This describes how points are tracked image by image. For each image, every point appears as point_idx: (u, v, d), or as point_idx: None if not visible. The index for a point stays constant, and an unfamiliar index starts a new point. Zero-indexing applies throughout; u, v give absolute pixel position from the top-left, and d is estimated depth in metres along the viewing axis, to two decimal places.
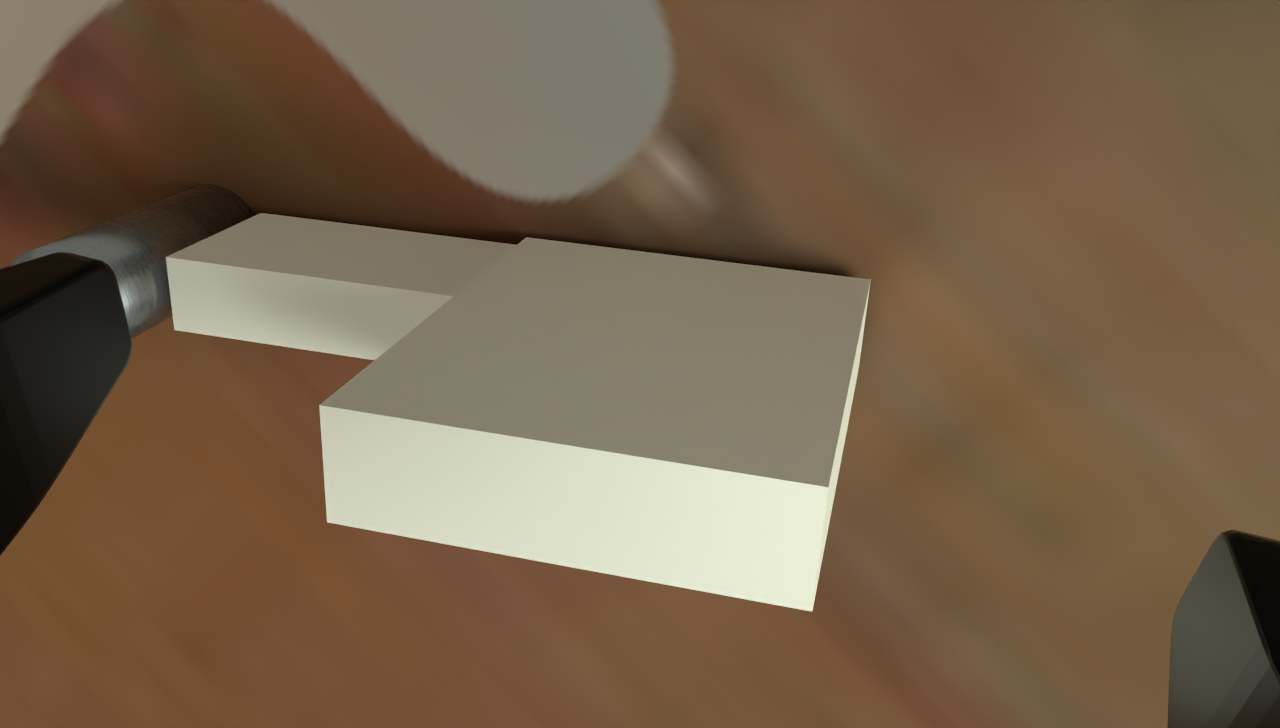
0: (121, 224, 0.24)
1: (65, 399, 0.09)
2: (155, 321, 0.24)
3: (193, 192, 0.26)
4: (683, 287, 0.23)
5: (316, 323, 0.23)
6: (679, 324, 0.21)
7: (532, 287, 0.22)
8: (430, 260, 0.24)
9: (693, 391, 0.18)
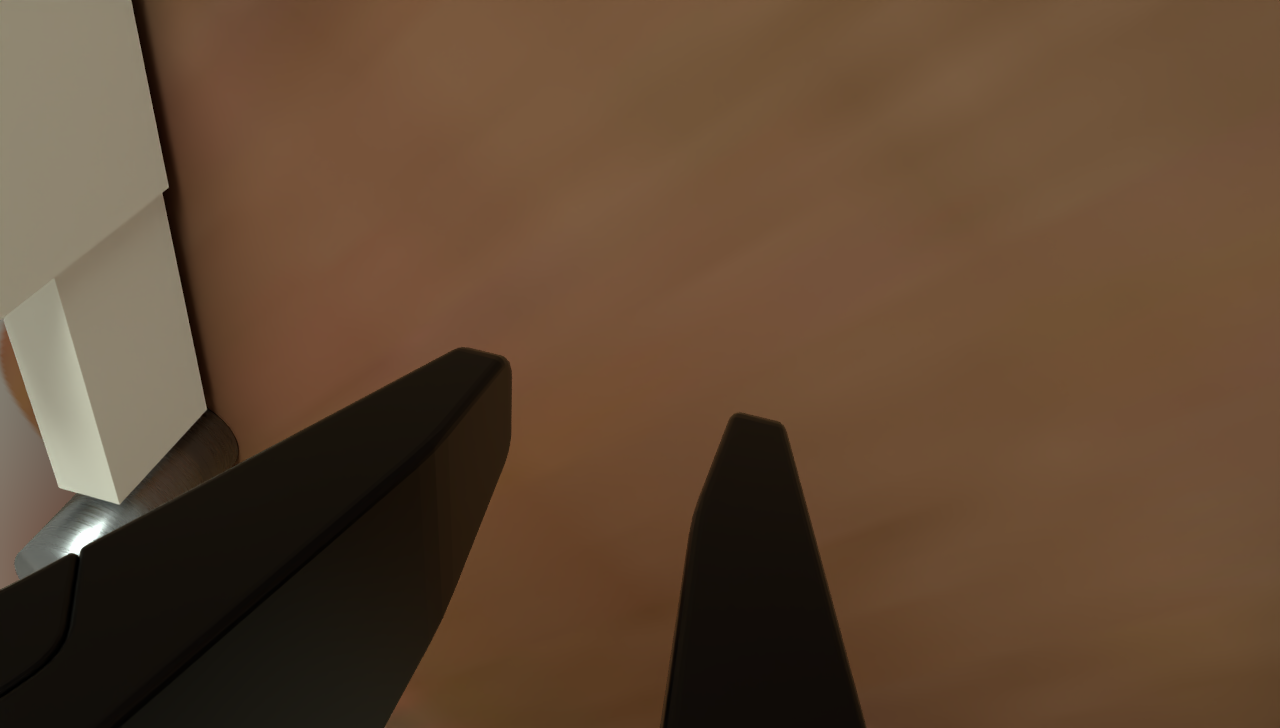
0: None
1: (470, 505, 0.09)
2: (127, 516, 0.27)
3: None
4: None
5: (62, 388, 0.24)
6: None
7: None
8: None
9: None
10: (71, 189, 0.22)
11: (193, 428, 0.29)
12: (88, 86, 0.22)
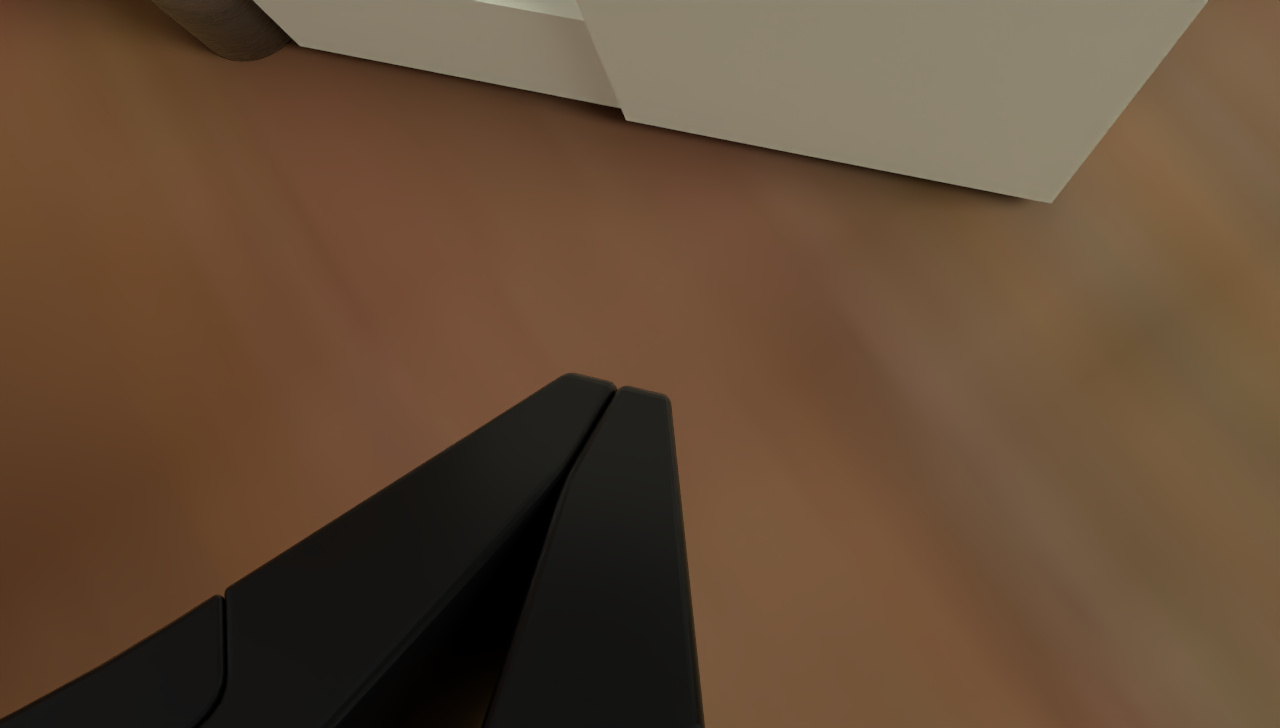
0: None
1: None
2: None
3: None
4: None
5: None
6: None
7: None
8: None
9: None
10: (688, 74, 0.18)
11: (274, 21, 0.21)
12: (794, 119, 0.18)
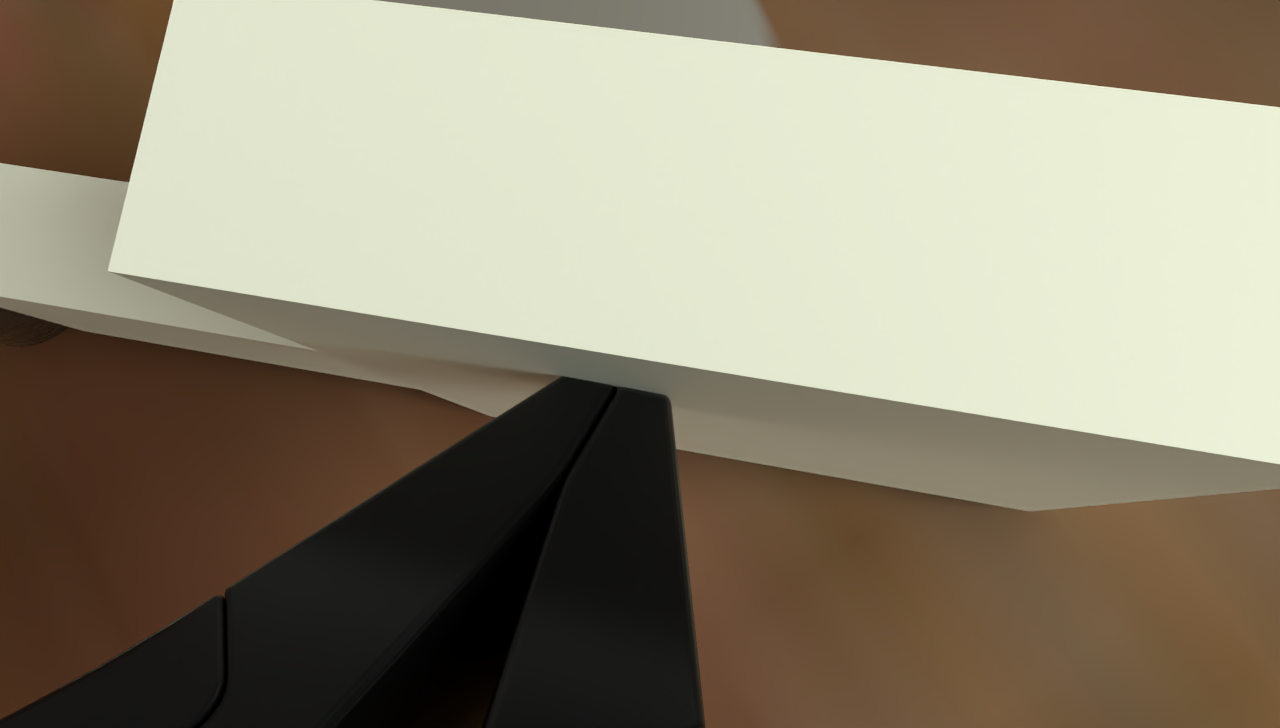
0: None
1: None
2: None
3: None
4: None
5: None
6: None
7: None
8: None
9: None
10: None
11: None
12: (691, 444, 0.14)
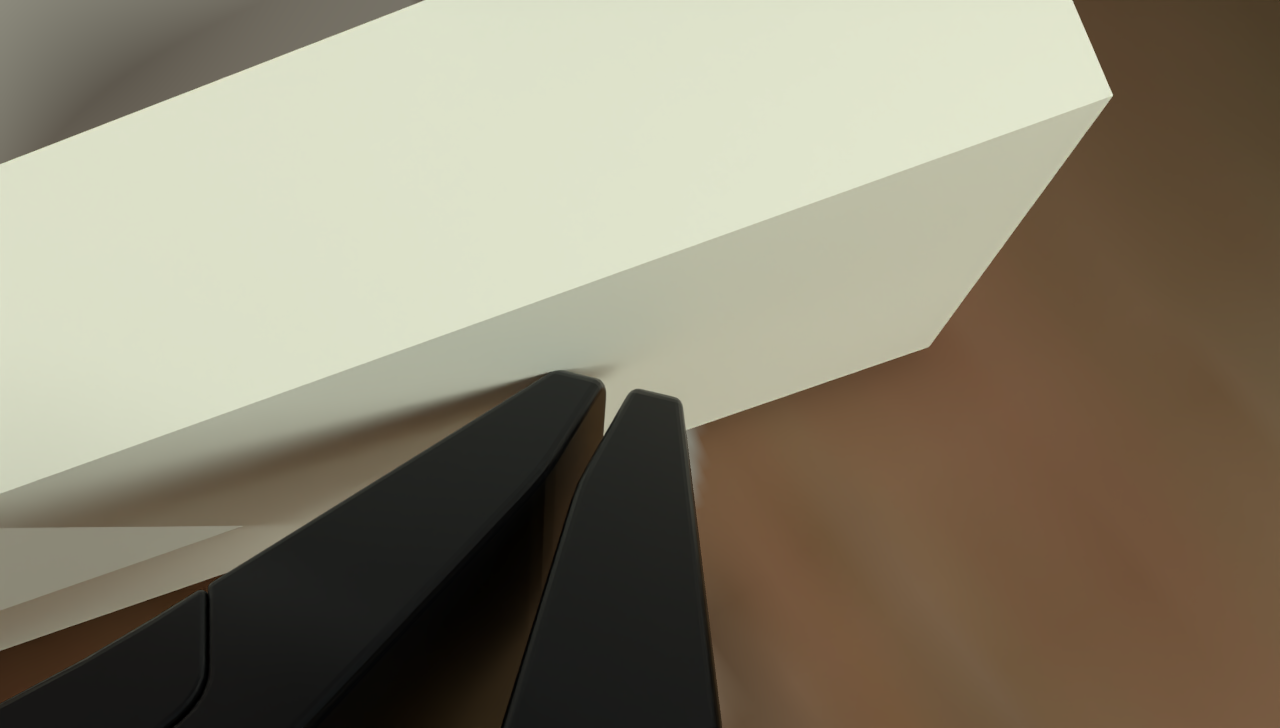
0: None
1: None
2: None
3: None
4: None
5: (22, 545, 0.13)
6: None
7: None
8: None
9: None
10: None
11: None
12: None
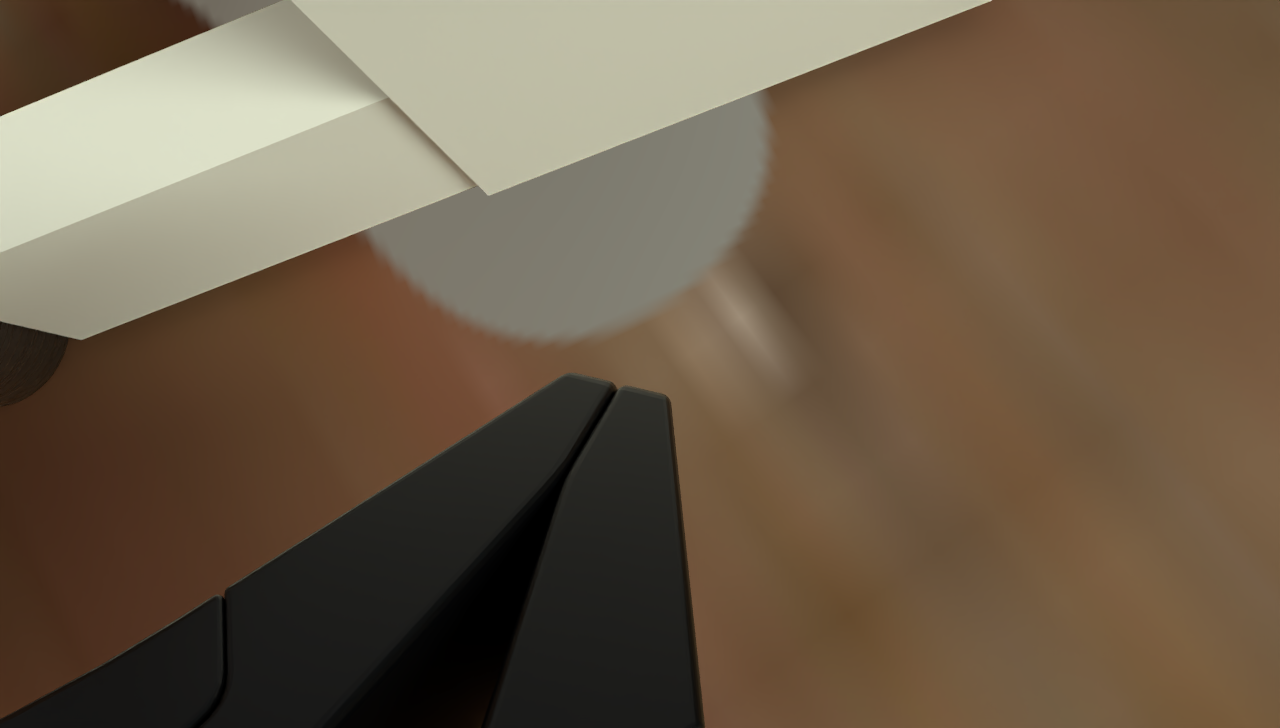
0: None
1: None
2: None
3: None
4: None
5: (129, 147, 0.13)
6: None
7: None
8: None
9: None
10: (536, 89, 0.13)
11: (14, 373, 0.17)
12: (678, 71, 0.14)
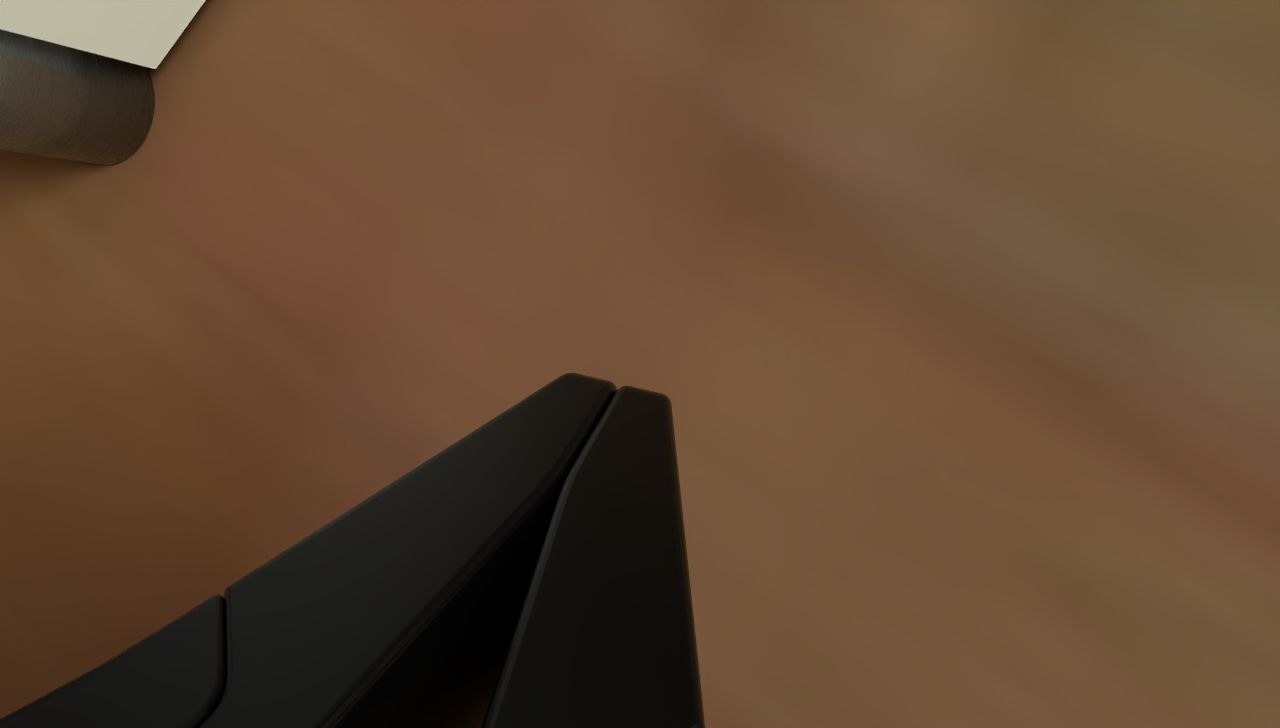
0: None
1: None
2: None
3: None
4: None
5: None
6: None
7: None
8: None
9: None
10: None
11: (122, 111, 0.21)
12: None
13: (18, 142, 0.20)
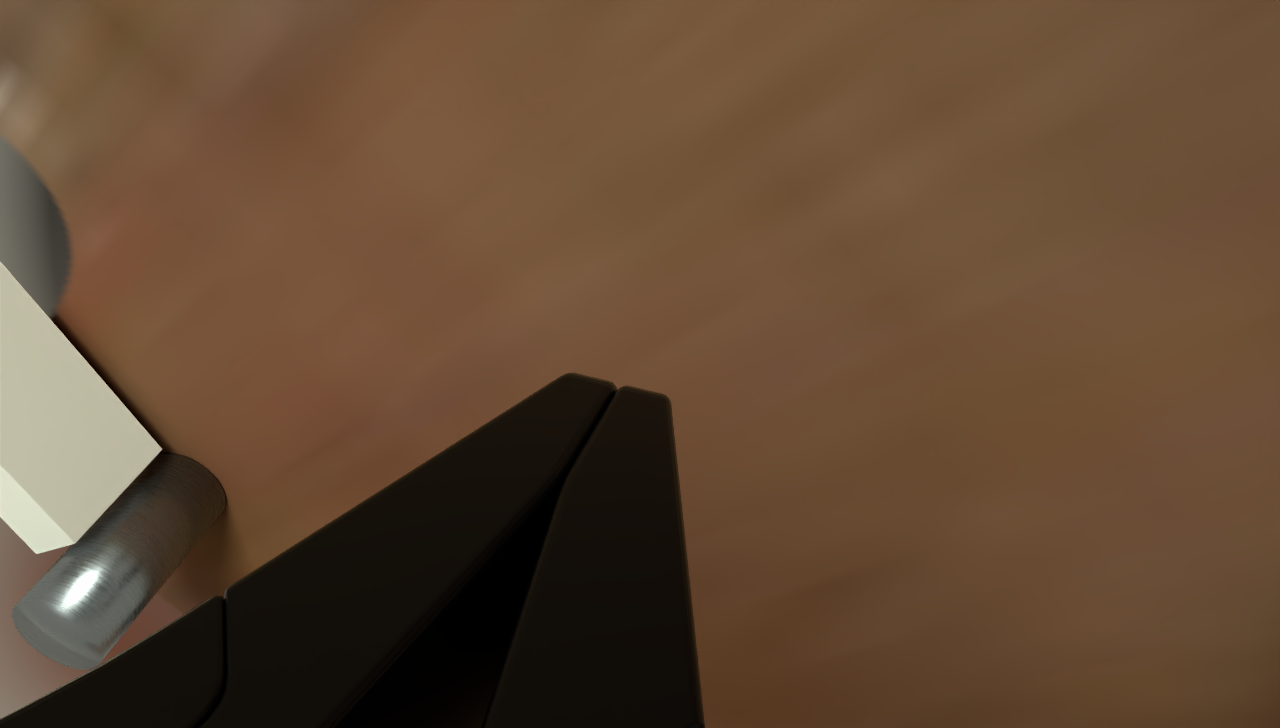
0: None
1: None
2: (119, 568, 0.28)
3: None
4: None
5: None
6: None
7: None
8: None
9: None
10: None
11: (182, 481, 0.31)
12: None
13: (173, 551, 0.30)
